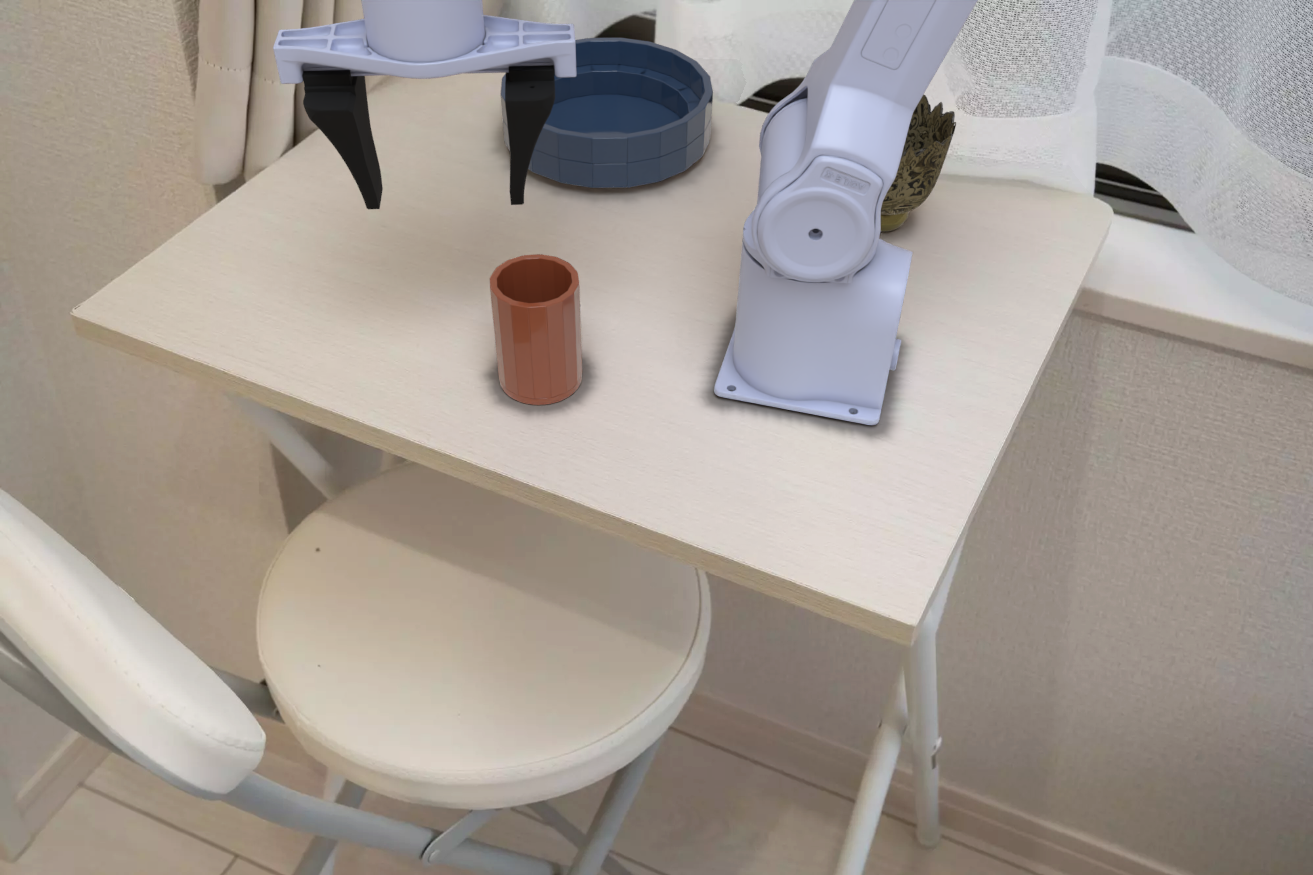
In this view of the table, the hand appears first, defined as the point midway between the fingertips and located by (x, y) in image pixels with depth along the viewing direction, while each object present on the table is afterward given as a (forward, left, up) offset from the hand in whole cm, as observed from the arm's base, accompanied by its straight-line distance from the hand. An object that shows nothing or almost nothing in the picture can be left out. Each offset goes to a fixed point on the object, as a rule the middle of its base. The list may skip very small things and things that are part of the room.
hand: (446, 197), depth 64 cm
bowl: (-2, -25, -10) cm, 27 cm away
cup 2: (-23, -20, -10) cm, 32 cm away
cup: (-6, +2, -10) cm, 12 cm away
